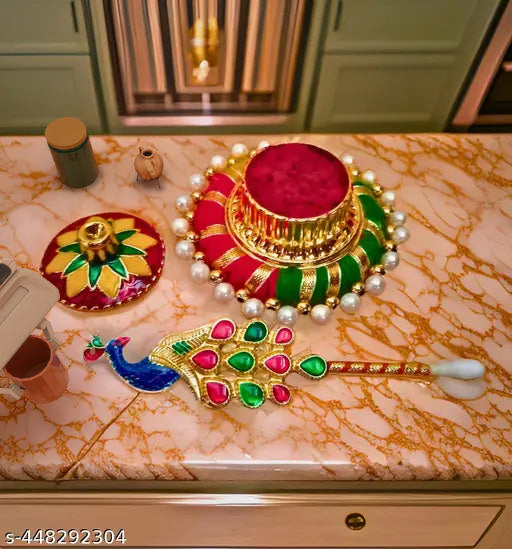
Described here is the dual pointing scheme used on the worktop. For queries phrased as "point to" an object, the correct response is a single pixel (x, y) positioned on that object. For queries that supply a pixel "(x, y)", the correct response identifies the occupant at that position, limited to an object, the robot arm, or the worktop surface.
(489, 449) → the worktop surface
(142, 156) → the pot
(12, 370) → the cup
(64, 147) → the jar
